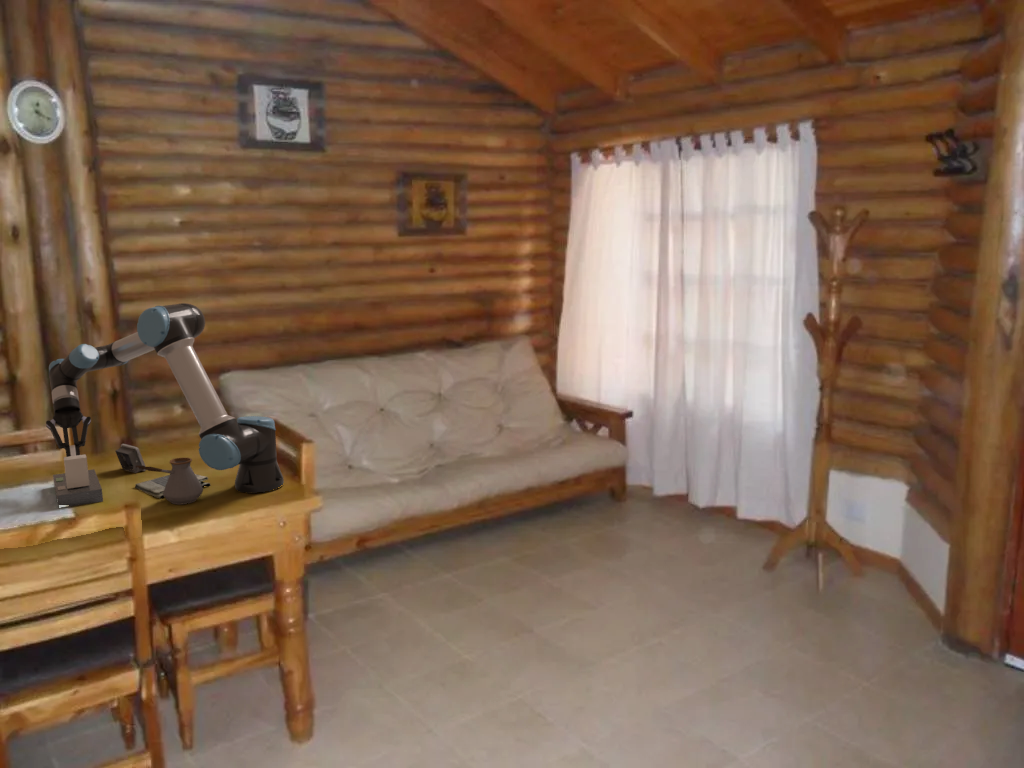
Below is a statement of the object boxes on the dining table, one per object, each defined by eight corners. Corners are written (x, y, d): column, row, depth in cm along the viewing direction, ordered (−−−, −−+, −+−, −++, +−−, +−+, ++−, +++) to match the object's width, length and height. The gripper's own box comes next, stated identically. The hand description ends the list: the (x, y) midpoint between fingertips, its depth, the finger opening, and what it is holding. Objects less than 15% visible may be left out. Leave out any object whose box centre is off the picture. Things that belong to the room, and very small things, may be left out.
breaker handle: (89, 485, 252) (86, 457, 250) (67, 488, 249) (64, 460, 247) (88, 482, 255) (85, 454, 253) (66, 485, 252) (63, 457, 250)
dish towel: (133, 489, 264) (132, 479, 263) (185, 476, 277) (184, 467, 276) (160, 501, 252) (159, 491, 251) (214, 487, 265) (213, 478, 265)
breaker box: (103, 501, 250) (101, 488, 249) (58, 508, 244) (57, 494, 243) (95, 480, 270) (94, 468, 269) (54, 486, 264) (52, 474, 263)
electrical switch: (147, 471, 281) (142, 445, 279) (133, 476, 277) (128, 450, 275) (131, 466, 286) (126, 441, 284) (117, 471, 282) (112, 446, 280)
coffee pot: (187, 492, 259) (183, 446, 256) (211, 498, 253) (208, 451, 250) (126, 512, 241) (121, 463, 238) (151, 519, 235) (146, 469, 232)
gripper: (88, 406, 270) (97, 468, 259) (43, 411, 263) (51, 474, 253) (88, 394, 265) (98, 456, 254) (42, 398, 258) (50, 462, 247)
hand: (74, 465), depth 253 cm, fingers closed
